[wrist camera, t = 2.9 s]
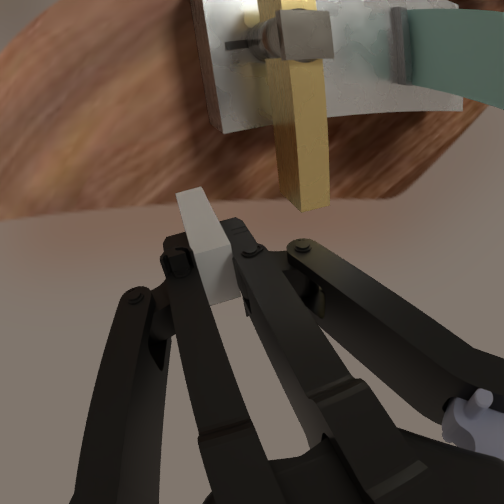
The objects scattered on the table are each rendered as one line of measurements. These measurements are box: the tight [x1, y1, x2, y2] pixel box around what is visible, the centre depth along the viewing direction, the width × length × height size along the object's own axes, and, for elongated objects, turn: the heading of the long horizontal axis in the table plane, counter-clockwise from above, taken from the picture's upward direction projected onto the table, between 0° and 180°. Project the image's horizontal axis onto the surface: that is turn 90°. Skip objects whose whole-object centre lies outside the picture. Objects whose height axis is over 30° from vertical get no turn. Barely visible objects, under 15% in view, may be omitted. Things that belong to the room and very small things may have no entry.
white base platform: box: [190, 0, 463, 134], centre depth 20 cm, size 25×12×6 cm, turn 98°
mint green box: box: [407, 9, 504, 110], centre depth 16 cm, size 7×7×10 cm
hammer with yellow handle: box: [248, 0, 335, 212], centre depth 17 cm, size 3×14×5 cm, turn 8°
